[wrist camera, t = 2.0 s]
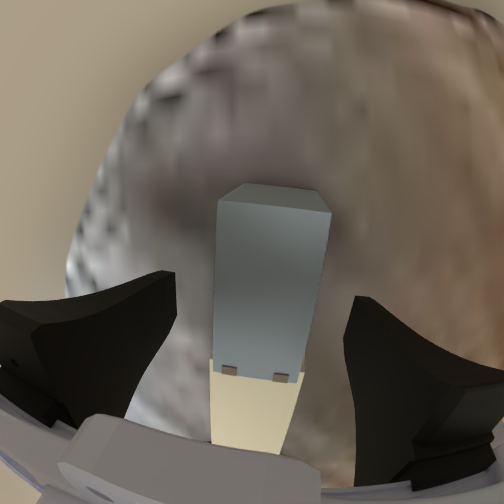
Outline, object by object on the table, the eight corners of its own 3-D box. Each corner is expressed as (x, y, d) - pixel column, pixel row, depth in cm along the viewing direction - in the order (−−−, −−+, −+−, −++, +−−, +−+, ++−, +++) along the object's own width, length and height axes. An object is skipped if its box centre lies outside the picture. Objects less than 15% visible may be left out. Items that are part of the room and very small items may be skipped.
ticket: (303, 325, 18) (304, 374, 14) (281, 417, 21) (277, 460, 17) (227, 315, 18) (209, 360, 14) (223, 408, 22) (211, 450, 18)
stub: (317, 190, 15) (332, 213, 9) (297, 316, 18) (296, 384, 12) (244, 182, 16) (216, 200, 10) (235, 308, 18) (212, 372, 13)
